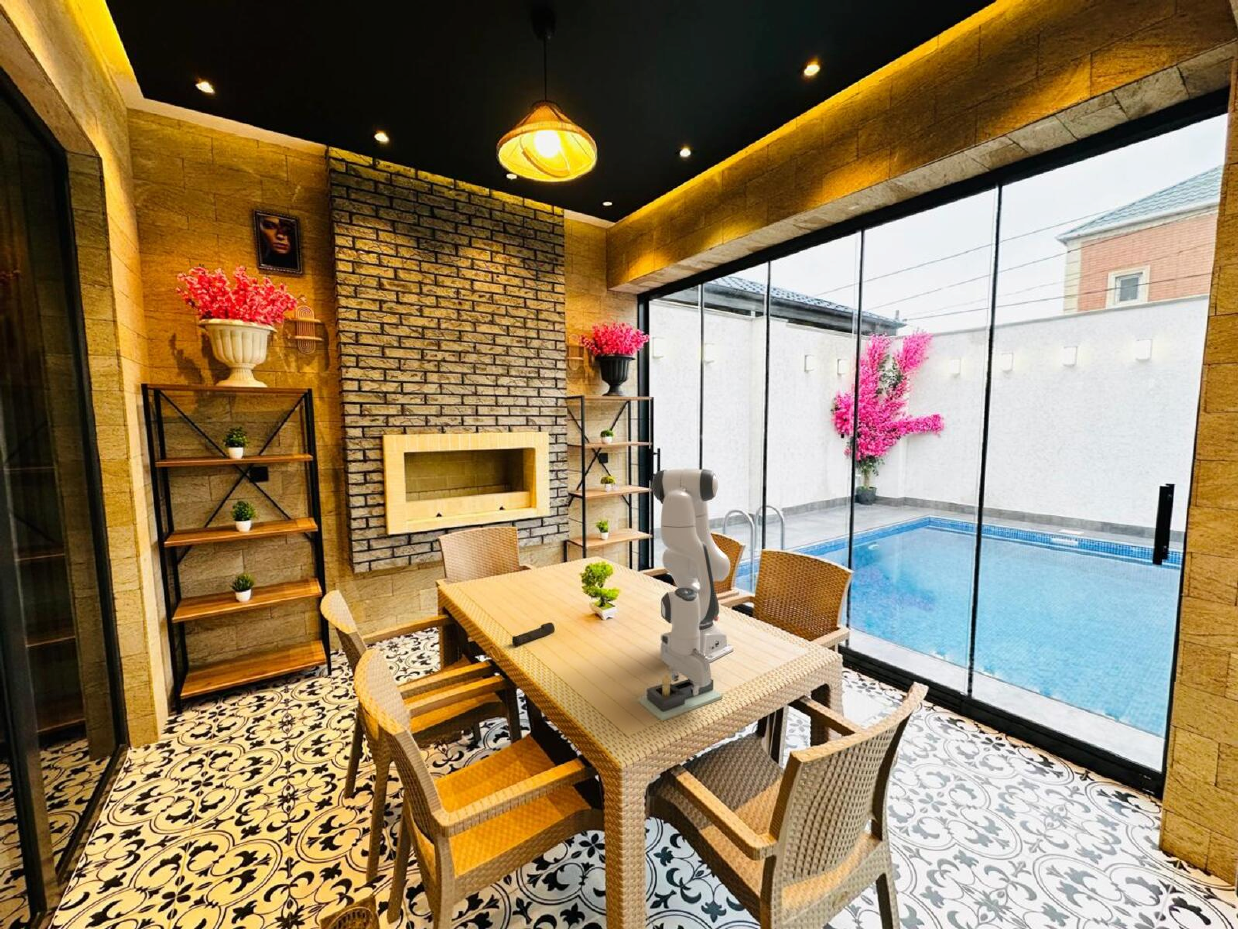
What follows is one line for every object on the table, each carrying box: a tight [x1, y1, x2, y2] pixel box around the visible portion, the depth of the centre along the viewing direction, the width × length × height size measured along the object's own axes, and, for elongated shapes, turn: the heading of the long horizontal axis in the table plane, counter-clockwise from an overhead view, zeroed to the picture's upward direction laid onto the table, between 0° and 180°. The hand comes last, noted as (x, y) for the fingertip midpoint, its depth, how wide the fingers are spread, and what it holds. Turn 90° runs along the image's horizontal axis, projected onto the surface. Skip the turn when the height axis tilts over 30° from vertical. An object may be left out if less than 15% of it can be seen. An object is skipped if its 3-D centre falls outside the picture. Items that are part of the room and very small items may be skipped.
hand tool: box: [511, 622, 555, 648], centre depth 193 cm, size 19×4×5 cm, turn 133°
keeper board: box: [637, 675, 723, 722], centre depth 151 cm, size 23×12×9 cm, turn 121°
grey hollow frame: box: [646, 678, 714, 712], centre depth 151 cm, size 21×8×3 cm, turn 121°
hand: (684, 687), depth 152 cm, fingers open, 8 cm apart
